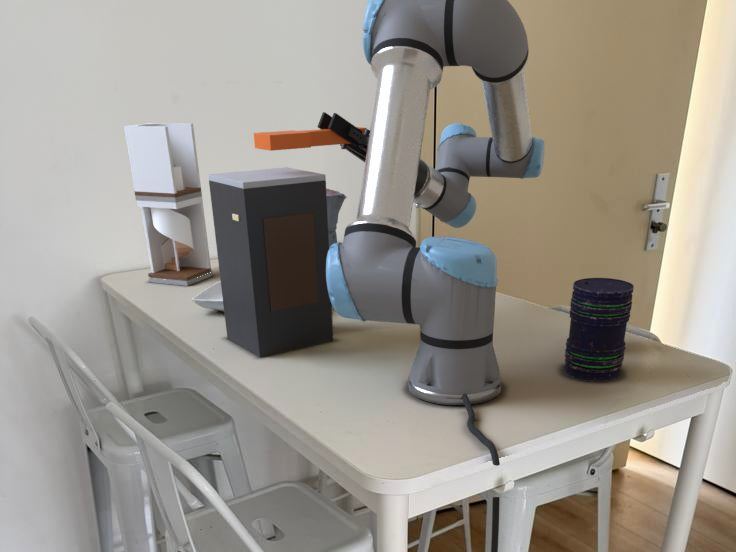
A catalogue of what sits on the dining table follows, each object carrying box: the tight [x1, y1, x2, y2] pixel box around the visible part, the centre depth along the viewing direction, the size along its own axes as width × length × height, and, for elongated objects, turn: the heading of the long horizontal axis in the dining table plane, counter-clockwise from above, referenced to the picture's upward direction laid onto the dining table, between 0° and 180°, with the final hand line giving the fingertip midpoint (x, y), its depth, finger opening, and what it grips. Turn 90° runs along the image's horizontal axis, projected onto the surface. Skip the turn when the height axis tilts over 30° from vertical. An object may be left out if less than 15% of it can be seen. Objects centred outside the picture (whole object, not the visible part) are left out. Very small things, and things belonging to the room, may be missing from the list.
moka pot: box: [326, 188, 347, 249], centre depth 207 cm, size 10×15×20 cm, turn 78°
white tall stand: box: [123, 122, 213, 287], centre depth 186 cm, size 11×11×35 cm
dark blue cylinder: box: [563, 277, 635, 383], centre depth 130 cm, size 10×10×15 cm
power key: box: [253, 126, 368, 151], centre depth 138 cm, size 21×6×2 cm, turn 125°
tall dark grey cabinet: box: [207, 167, 334, 358], centre depth 144 cm, size 16×14×30 cm
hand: (326, 120), depth 138 cm, fingers closed on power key, 3 cm apart
